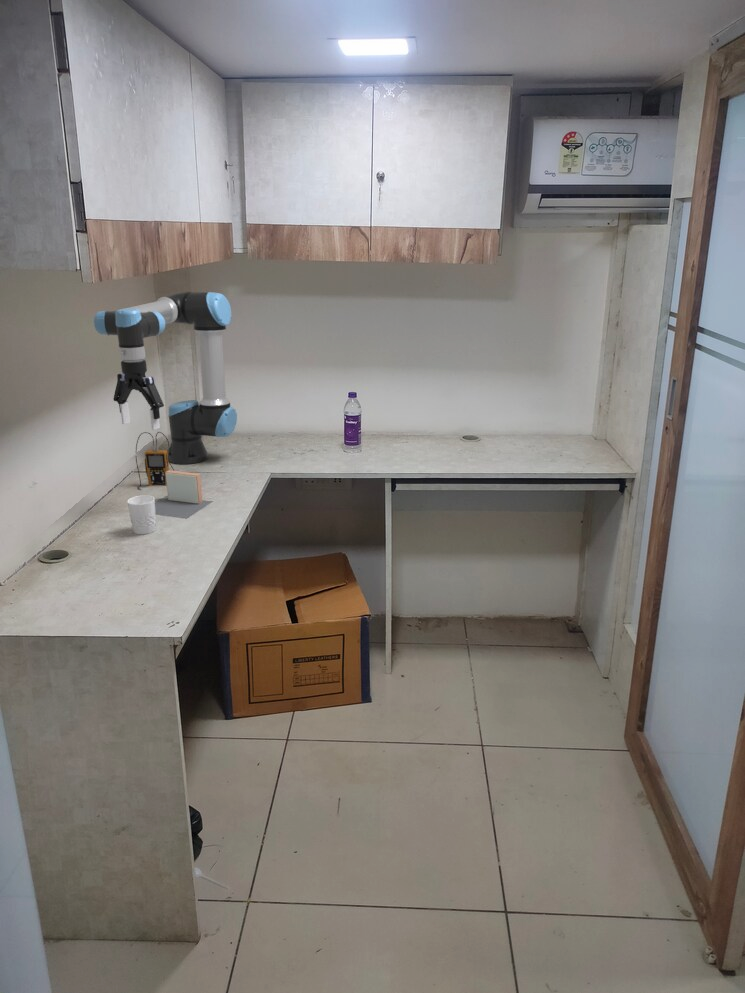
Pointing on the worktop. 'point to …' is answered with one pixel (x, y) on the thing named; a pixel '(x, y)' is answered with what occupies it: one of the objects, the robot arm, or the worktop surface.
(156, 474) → the multimeter
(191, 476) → the tile
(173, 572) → the worktop surface
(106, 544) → the worktop surface
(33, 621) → the worktop surface
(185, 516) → the mat
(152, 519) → the white cup
